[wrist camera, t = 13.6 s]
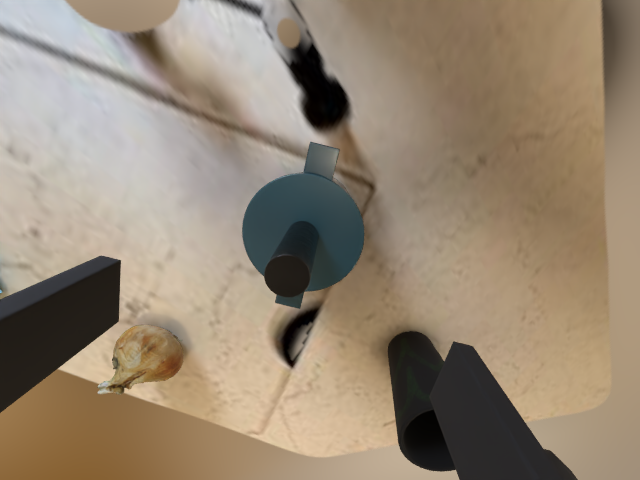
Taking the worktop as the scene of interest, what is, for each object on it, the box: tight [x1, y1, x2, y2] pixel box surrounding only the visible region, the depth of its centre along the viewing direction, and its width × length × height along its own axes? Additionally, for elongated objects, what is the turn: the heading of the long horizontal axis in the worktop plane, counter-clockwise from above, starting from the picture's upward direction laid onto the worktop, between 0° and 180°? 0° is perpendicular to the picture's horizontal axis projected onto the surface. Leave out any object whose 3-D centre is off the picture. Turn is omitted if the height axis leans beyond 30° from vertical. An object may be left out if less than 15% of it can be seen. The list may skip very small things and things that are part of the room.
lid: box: [242, 173, 364, 297], centre depth 21 cm, size 10×10×9 cm
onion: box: [98, 325, 183, 394], centre depth 35 cm, size 8×8×8 cm
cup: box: [388, 331, 456, 471], centre depth 31 cm, size 8×8×12 cm
